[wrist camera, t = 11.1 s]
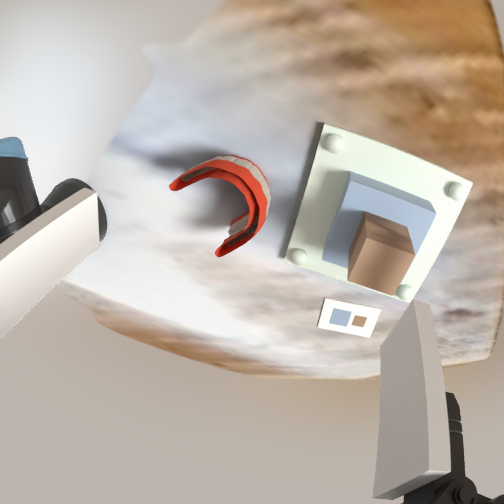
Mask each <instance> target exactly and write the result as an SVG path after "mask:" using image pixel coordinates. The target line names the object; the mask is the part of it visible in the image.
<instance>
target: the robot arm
mask: <svg viewBox="0 0 504 504" xmlns="http://www.w3.org/2000/svg"><path fill="white" fill-rule="evenodd" d="M27 161H28V158H27V157H26V155H25V151H24V148H23V144H22V142H21V140H20V139H19V138H17V137H8V138H4V139H0V341H2V340H3V339H4V337H5V336H6V335H7V334H8V333H9V332H10V331H11V330H12V329H13V328H14V327H15V326H16V325H17V323H18V322H20V320H21V319H22V318H23V317H24V316H25V315H26V314H27V313H28V312H29V311H30V310H31V309H32V308H33V307H34V306H35V305H36V304H37V303H38V302H39V301H40V300H41V299H42V298H43V297H44V296H45V295H46V294H47V293H48V292H49V291H51V289H53V288H54V287H55V286H56V285H57V284H58V283H59V282H60V281H61V280H62V279H63V278H64V277H65V276H66V275H67V274H69V273H70V272H71V271H72V270H73V269H74V268H75V267H76V266H77V265H78V264H80V263H81V262H82V261H83V260H84V259H85V258H86V257H87V256H88V255H90V254H91V253H92V252H93V251H94V250H95V249H96V248H98V247H99V246H100V241H102V239H103V238H104V236H105V234H106V230H107V219H106V214H105V210H104V207H103V205H102V203H101V201H100V199H99V197H98V196H97V192H96V191H93V189H92V188H91V187H90V186H88V185H87V184H86V183H84V182H83V181H81V180H78V179H74V178H72V179H67V180H65V181H63V182H61V183H60V184H58V185H57V186H55V188H54V189H53V190H52V192H51V193H50V194H49V195H48V197H47V198H46V199H45V200H44V202H43V203H42V204H41V205H39V201H38V198H37V195H36V191H35V188H34V184H33V181H32V177H31V174H30V170H29V166H28V162H27ZM380 351H381V389H380V392H381V393H380V420H379V437H378V452H377V462H376V473H375V481H374V490H373V498H377V499H389V500H393V499H396V498H398V497H401V496H403V495H404V502H403V503H401V504H504V495H500V496H498V497H496V498H494V499H490V498H487V497H485V496H482V495H480V494H478V493H477V490H476V487H475V485H474V483H473V482H472V481H471V480H470V479H469V478H467V477H466V476H465V465H464V464H465V463H464V447H463V436H462V434H461V433H462V426H461V423H460V421H461V416H460V408H459V405H458V403H457V400H456V398H455V396H454V394H453V393H448V392H445V387H444V380H443V373H442V367H441V360H440V355H439V349H438V344H437V338H436V333H435V328H434V324H433V319H432V314H431V310H430V306H429V305H428V304H425V303H422V302H419V301H416V300H412V302H411V303H410V305H409V306H408V308H407V309H406V311H405V312H404V314H403V315H402V317H401V318H400V320H399V321H398V323H397V324H396V325H395V327H394V328H393V330H392V331H391V333H390V334H389V335H388V337H387V338H386V339H385V341H384V342H383V344H382V345H381V346H380Z"/></svg>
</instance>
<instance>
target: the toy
mask: <svg viewBox="0 0 504 504" xmlns="http://www.w3.org/2000/svg"><path fill="white" fill-rule="evenodd" d="M209 177H211V178H219V179H223V180H226V181H228V182H231V183H233V184H234V185H235V186H236V187H237V188H238V189H239V190H240V191H241V192H242V193H243V194H244V195H245V198H246V200H247V203H248V205H249V208H250V211H248V212H247V213H245V214H244V215H242V216H241V217H239V218H237V219H235V220H234V221H232V222H231V224H230V225H231V227H230V229H229V231H228V233H229V234H230V236H229V237H228V238H227V239H225V240H224V242H223V244H222V245H221V246H220V247H219V248H218V249H217V250H216V251H215V255H216V256H217V257H221V256H224V255H226V254H228V253H230V252H232V251H233V250H235V249H237V248H238V247H240V246H242V245H243V244H245V243H246V242H247V241H249V240H250V239H251V238H253V237H254V236H255V235H256V234H257V232H258V231H259V230H260V229H261V227H262V226H263V224H264V222H265V219H266V216H267V214H268V208H269V206H270V200H271V196H270V190H269V186H268V183H267V181H266V178H265V176H264V175H263V173H262V172H261V170H260V169H259V168H258V167H257V166H256V165H255V164H254V163H252V162H251V161H250V160H247V159H244V158H239V157H238V156H223V157H222V156H218V157H215V158H213V159H212V160H207V161H205V162H202V163H200V164H199V165H198V166H194V167H192V168H190V169H189V170H187V171H186V172H185V173H184V174H182V175H181V176H179V177H178V178H177V179H176V180H175V181H173V182H172V183H171V184H170V185H169V187H170V189H171V190H172V191H178V190H180V189H183V188H184V187H186V186H188V185H190V184H193V183H195V182H197V181H199V180H202V179H205V178H209Z"/></svg>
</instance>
